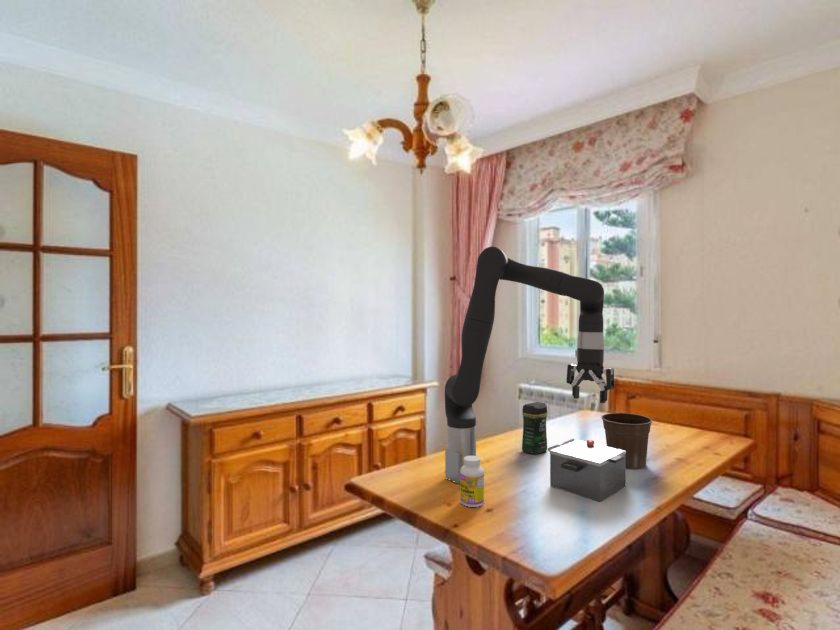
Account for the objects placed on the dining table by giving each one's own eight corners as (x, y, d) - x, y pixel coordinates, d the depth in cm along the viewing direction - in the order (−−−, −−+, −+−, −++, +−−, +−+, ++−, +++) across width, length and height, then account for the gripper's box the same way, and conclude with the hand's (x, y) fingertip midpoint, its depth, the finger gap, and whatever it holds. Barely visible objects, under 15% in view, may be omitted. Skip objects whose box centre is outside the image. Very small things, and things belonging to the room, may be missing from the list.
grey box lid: (606, 468, 128) (606, 459, 128) (545, 452, 143) (545, 444, 143) (631, 455, 139) (631, 447, 139) (573, 441, 154) (573, 434, 154)
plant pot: (622, 474, 152) (622, 425, 151) (591, 458, 167) (591, 414, 167) (663, 469, 156) (663, 421, 156) (629, 454, 171) (629, 411, 171)
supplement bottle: (455, 503, 130) (455, 458, 130) (470, 496, 134) (470, 452, 134) (474, 510, 125) (473, 463, 125) (489, 503, 130) (488, 458, 130)
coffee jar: (536, 456, 170) (536, 406, 170) (518, 451, 176) (518, 403, 176) (551, 450, 177) (551, 402, 176) (533, 446, 183) (533, 399, 182)
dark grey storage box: (595, 505, 128) (595, 469, 128) (544, 488, 140) (544, 455, 140) (629, 484, 143) (629, 452, 143) (581, 471, 155) (581, 441, 154)
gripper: (562, 345, 142) (561, 398, 142) (607, 349, 131) (605, 406, 131) (575, 344, 147) (574, 395, 147) (619, 348, 136) (618, 403, 136)
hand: (589, 400), depth 139 cm, fingers open, 8 cm apart
